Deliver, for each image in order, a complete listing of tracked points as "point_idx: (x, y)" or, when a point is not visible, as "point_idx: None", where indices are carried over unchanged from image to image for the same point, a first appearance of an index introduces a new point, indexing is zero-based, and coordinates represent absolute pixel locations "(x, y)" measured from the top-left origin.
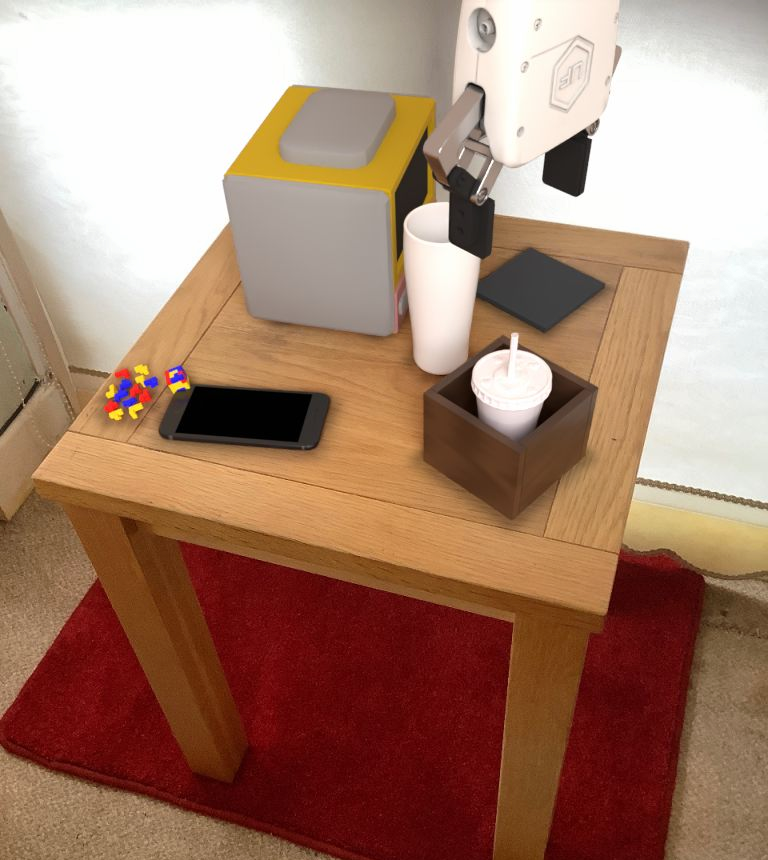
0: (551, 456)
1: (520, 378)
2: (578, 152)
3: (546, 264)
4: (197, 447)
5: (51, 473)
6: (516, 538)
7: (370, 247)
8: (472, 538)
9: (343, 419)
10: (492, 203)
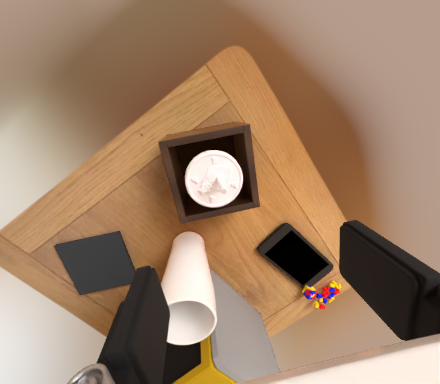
0: (206, 129)
1: (213, 173)
2: (140, 334)
3: (80, 278)
4: (322, 252)
5: None
6: (242, 109)
7: (224, 325)
8: (261, 125)
9: (258, 233)
10: (427, 274)
